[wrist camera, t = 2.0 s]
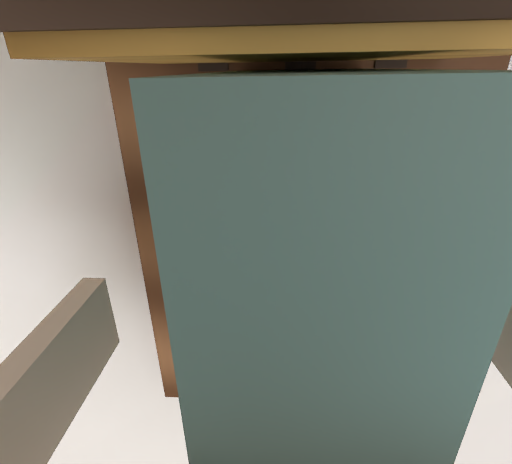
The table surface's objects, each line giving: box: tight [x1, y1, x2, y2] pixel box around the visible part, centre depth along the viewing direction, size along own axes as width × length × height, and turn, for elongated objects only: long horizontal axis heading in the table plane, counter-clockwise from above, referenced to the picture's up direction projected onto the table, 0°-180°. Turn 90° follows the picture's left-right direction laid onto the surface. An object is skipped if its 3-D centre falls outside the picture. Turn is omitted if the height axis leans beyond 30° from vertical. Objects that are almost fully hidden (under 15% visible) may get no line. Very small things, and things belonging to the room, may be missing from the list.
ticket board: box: [0, 0, 512, 397], centre depth 13 cm, size 26×16×10 cm, turn 1°
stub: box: [129, 69, 512, 464], centre depth 11 cm, size 10×5×11 cm, turn 1°
